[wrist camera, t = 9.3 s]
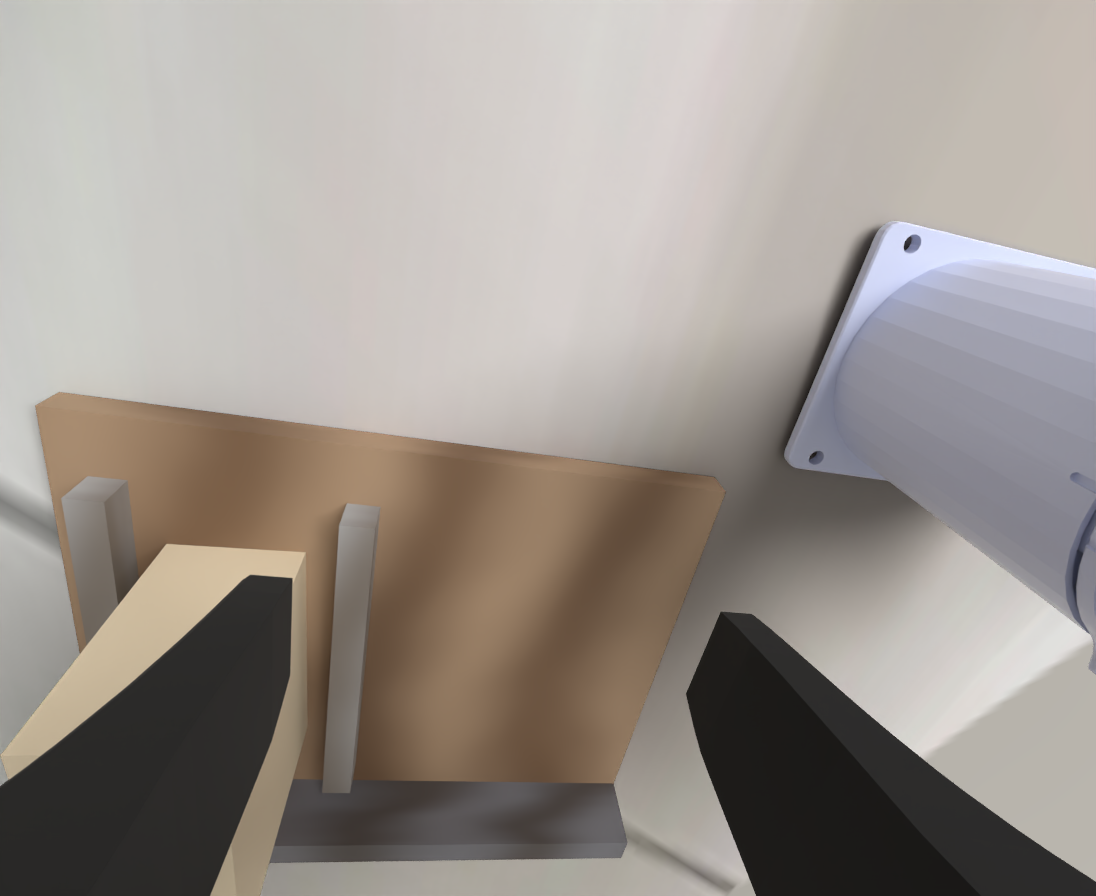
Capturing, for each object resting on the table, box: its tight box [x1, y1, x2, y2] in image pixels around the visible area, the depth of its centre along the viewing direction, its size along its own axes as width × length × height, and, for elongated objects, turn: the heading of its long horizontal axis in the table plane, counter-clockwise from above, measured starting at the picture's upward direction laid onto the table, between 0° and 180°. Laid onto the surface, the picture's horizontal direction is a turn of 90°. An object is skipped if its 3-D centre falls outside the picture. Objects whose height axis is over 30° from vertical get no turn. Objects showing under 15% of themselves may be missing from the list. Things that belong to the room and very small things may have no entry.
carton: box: [0, 544, 308, 896], centre depth 16 cm, size 8×4×7 cm, turn 170°
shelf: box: [35, 392, 726, 863], centre depth 20 cm, size 20×16×4 cm
